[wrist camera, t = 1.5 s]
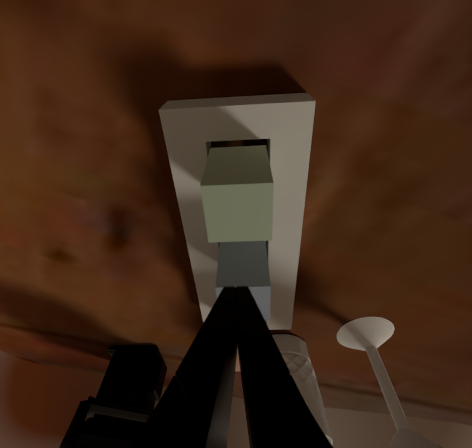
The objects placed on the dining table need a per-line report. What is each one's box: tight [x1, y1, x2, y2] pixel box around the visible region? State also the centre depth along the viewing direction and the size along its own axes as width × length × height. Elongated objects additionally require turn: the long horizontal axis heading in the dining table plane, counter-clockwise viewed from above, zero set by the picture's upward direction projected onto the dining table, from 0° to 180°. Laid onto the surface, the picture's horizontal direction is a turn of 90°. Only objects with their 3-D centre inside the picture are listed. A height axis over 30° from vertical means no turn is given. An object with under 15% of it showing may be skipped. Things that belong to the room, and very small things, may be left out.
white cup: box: [272, 334, 333, 445], centre depth 31 cm, size 8×8×10 cm
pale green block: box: [200, 145, 274, 242], centre depth 15 cm, size 3×3×5 cm
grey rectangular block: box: [215, 241, 271, 320], centre depth 20 cm, size 3×3×5 cm
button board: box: [159, 93, 316, 330], centre depth 23 cm, size 9×22×2 cm, turn 3°
